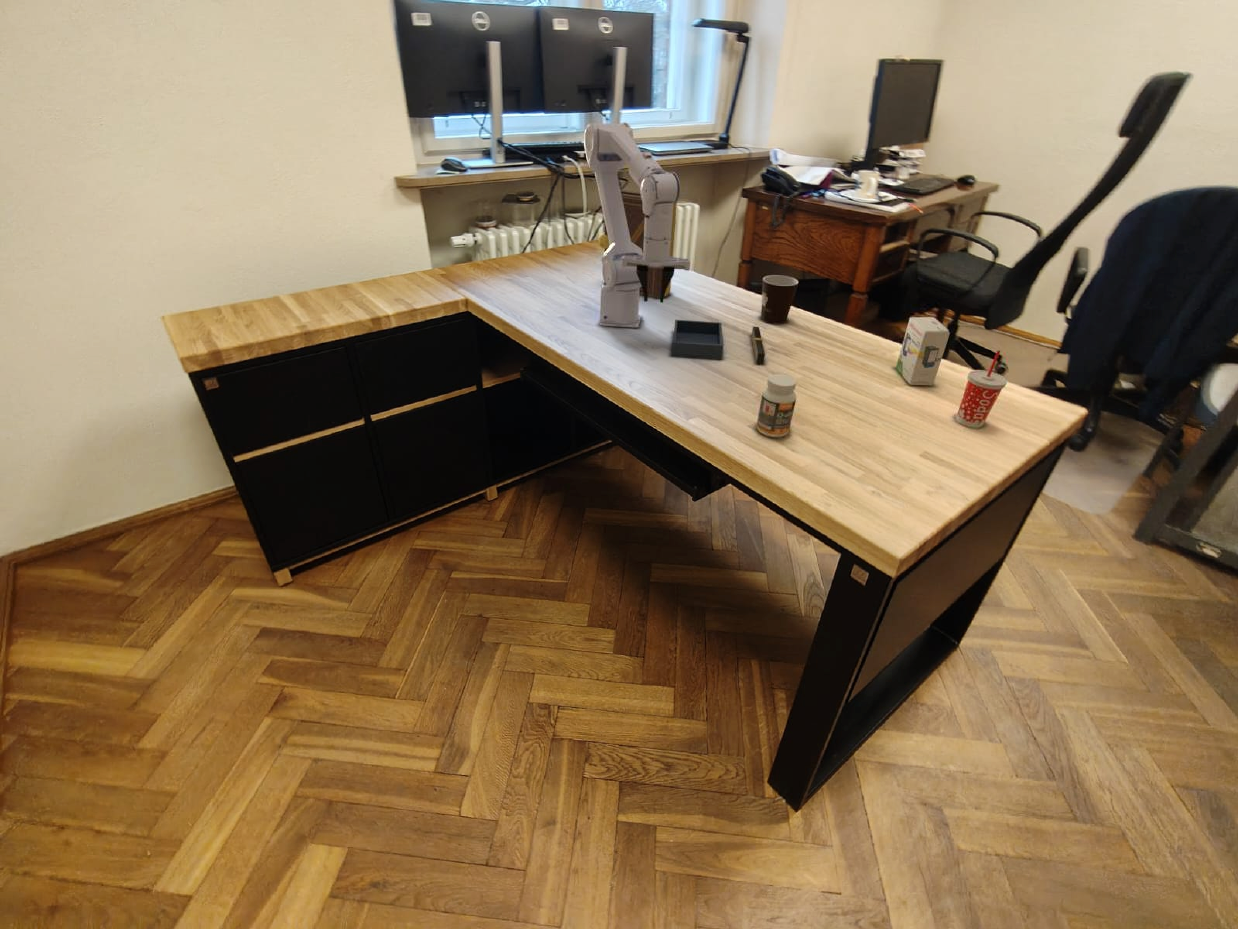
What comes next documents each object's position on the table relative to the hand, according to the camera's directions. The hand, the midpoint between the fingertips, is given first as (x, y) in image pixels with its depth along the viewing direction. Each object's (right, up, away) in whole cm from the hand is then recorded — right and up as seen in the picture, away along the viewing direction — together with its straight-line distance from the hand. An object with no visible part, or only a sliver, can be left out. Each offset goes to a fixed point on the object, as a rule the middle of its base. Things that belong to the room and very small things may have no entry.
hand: (653, 300), depth 130 cm
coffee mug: (+32, +2, +21) cm, 39 cm away
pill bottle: (+20, -31, -26) cm, 45 cm away
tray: (+10, -9, +5) cm, 14 cm away
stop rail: (+24, -10, +4) cm, 26 cm away
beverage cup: (+57, -29, -21) cm, 68 cm away
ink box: (+55, -18, -6) cm, 58 cm away
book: (-4, +14, +37) cm, 40 cm away
